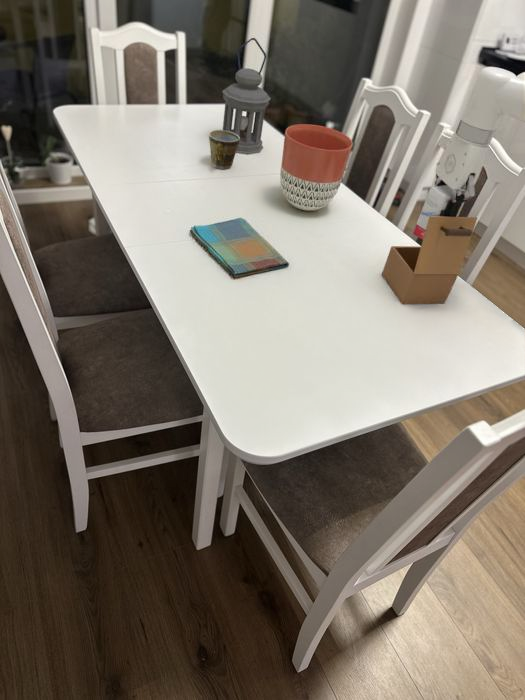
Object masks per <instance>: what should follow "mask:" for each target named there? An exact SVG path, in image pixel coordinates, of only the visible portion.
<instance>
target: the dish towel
mask: <svg viewBox="0 0 525 700" xmlns="http://www.w3.org/2000/svg"><path fill="white" fill-rule="evenodd" d="M189 233H190V234H191V236H193V238H195V239H196V240H197V241H198V242H199V243H200V244H201V245H202V247H204V248H205V249H206V250H207V251H208V252H209V253H210V254H211V255H212V256H213V258H214V259H216V260H217V261H218V262H219V264H220V265H221V266H222V267H223V268H224V269H225V270H226V271H227V272H228V273H229V274H230V275H231V277H232V278H240V277H244V276H245V277H246V276H249V275H254V274H258V273H263V272H268V271H269V272H270V271H273V270H274V271H275V270H278V269H283V268H288V267H290V263H289V261H288V260H286V258H284V256H283V255H282V254H280V252H279V251H278V250H277V249H276V248H275V247H273V245H271V244H270V243H269V242H268V241H267V240H266V239H265V238H264V237H263V236H262V235H261V234H260V233H259V232H258V231H257V230H256V229H255V228H254V227H253V226H252V225H251V224H250V223H249V222H248V221H247V220H246V219H245V218H242V217H237V218H234V219H229V220H225V221H220V222H215V223H212V224H211V223H210V224H205V225H193V226H191V227H190V230H189Z"/></svg>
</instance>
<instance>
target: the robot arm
mask: <svg viewBox="0 0 525 700" xmlns="http://www.w3.org/2000/svg"><path fill="white" fill-rule="evenodd" d="M503 115H507V116H509V117H511V118H514V119H516V120H518V121H520V122H524V123H525V71H524V72H521V73H519V74H517V75H516V74H515V73H514V72H512V71H510V70H507V69H504V68H501V67H497V66H486V67H484V68H482V70H480V72H479V74H478V76H477V79H476V81H475V83H474V86H473V88H472V91H471V93H470V96H469V98H468V101H467V104H466V106H465V108H464V111H463V113H462V115H461V117H460V120H459V123H458V125H457V128H456V130H455V131H454V132H453V133H452V135H451V136H450V138H449V140H448V141H447V143H446V145H445V147H444V149H443V151H442V153H441V155H440V157H439V159H438V162H437V163H436V167H435V169H434V170H435V181H434V187H435V186H445V185H448V186H449V187H450V188H451V189H453V195H452V201H449V202H448V204H447V207H446V209H445V211H444V214H443V216H448V217H456V216H457V213H458V211H459V209H460V207H461V205H462V203H464V204H465V203H466V202H467V201H469V200H471V199H472V198H474V197H475V196H476V188H475V187H476V186H475V185H476V184H477V181H478V180H479V177H480V174H481V171H482V170H483V167H484V165H485V164H484V163H485V161H486V158H487V154H488V151H489V146H490V145H491V142H492V140H493V138H494V135H495V133H496V131H497V129H498V126H499V124H500V122H501V120H502V118H503ZM458 191H462V192H461V195H459V196H458Z"/></svg>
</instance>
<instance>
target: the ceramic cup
mask: <svg viewBox="0 0 525 700" xmlns="http://www.w3.org/2000/svg"><path fill="white" fill-rule="evenodd" d="M208 139H209V140H208V141H209V149H210V151H209V153H210V162H211V163H210V164H211V166H213V167H214V168H215V169H218V170H222V171H226V170H230V169H231V167H232V166H233V163H234V160H235V157H236V154H237V153H236V150H237V148H238V144H239V141H240V137H239V136H238V135H237V134H235V133H233V132H230V131H225V130H223V129H216V130H212V131H210V132H209V134H208Z"/></svg>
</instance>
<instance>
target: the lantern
mask: <svg viewBox="0 0 525 700" xmlns="http://www.w3.org/2000/svg"><path fill="white" fill-rule="evenodd" d="M251 41H254V42H255V44H256V45H257V47H258V48H259V49H260V51H261V52H262V55H263V61H262V63H261V67H260V69H259V71H257V70H255V69H253V68H242V67H241V58H240V51H241V49H242V48H243V47H244V46H246V45H248V43H250V42H251ZM236 53H237V66H238V70H237V72H235V77H234V78H235V81H236V83H232V84H230V85H229V86H227V87H226V88H224V89H223V90H222V91H221V93H222V94H223V96H222V98H223V100H224V101H225V102H224V113H223V121H222V130H225V131H230V132H233V133H235V134H237V135H238V136H239V137H240V141H239V144H238V148H237V150H236V153H235V154H239V155H240V154H241V155H253V154H259V153H260V154H261V151H262V150H263V149H264V146H263V140H262V132H263V128H264V127H263V126H264V121H265V112H266V108H267V107H268V106H269V105H270V102H271V99H272V97H270V96H269V94H268V93H267V92H266V91H265V90H264V89H263V88H262V87H260V85H261V84H262V82H263V76H262V74H261V73H262V72H263V69H264V65H265V62H266V61H267V53H266V52H265V50H264V49H263V47H262V46H261V44H260V43H259V41H258V39H257V38H256V37H250V39H248V40H247V41H246V42H245V43H243V44H242V45H240V46H239V47H238V48H237V51H236ZM234 111H235V114H234ZM243 112H245V113H246V114H245V115H243ZM233 120H234V123H233Z"/></svg>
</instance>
